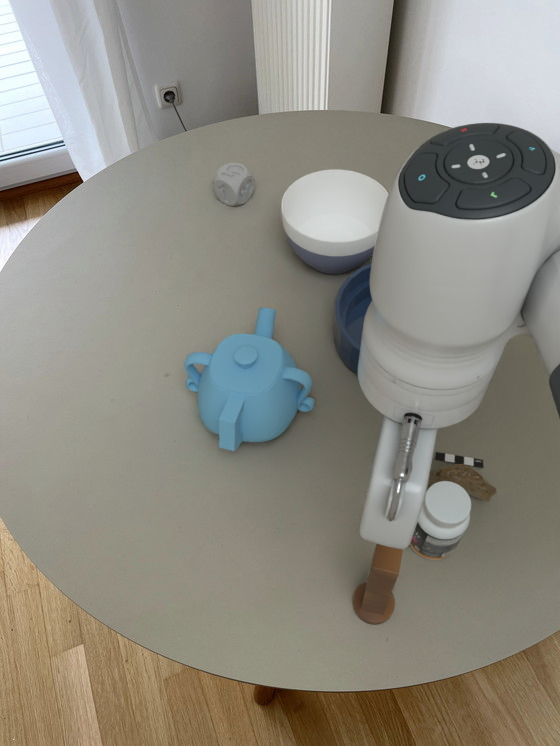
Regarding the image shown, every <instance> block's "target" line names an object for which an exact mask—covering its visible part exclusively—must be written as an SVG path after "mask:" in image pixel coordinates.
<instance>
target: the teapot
mask: <svg viewBox="0 0 560 746" xmlns="http://www.w3.org/2000/svg"><path fill="white" fill-rule="evenodd" d="M276 314H277V310H276V309H272V308H269V307H259V308H258V313H257V317H256V323H255V328H254V332H253V333H254V334H253V333H252V334H251V333H234V334H231V335H228V336H226V337H225V338H224V339H223V340H222V341H221V342H219V344H218V345H217V346H216V348H215V349H214V351H213V352H212V353H209V352H206V351H205V352H204V351H194V352H191V353H189V354H188V355H187V356H186V358H185V360H184V363H183V364H184V365H183V366H184V370H185V372H186V374H187V376H188V377H187V378H186V380H185V387H186V388H187V389H188V390H189V391H191V392H194V393H197V409H198V413H199V418H200V420H201V422H202V423H203V425H204V426H205V427H206V428H207V430H209V431H210V432H211V433H214V434H216V435H217V436H218V438H219V439H218V441H219V442H218V443H219V444H218V445H219V446H218V447H219V448H220V449H223V450H228V451H232V452H235V451H236V450H237V449H239V447H240V445H241V444H242V443H243V442H245V443H246V442H247V443H264V442H269V441H271V440H274V439H276V438H278V437H279V436H281V435H282V434H283V433H284V432H285V431H286V430H287V429H288V428H289V426H290V425H291V424H292V422H293V420H294V418H295V417H296V415H297V412H298V411H300V412H303V413H309V412H311V411H312V410H313V409H314V407H315V400H314V398H312V397H310V396H308V395H309V394H310V392H311V389H312V386H313V380H312V377H311V375H309V373H308V372H306V371H304V370H303V369H301V368H298V366H297V365H296V362H295V360H294V358H293V357H292V355H291V354H290V353H289V352H288V350H287V349H286V348H284V346H282V344H280V343H279V342H278V341H276V340H274V339H273V336H274V328H275V320H276V316H277V315H276ZM195 365H202V366H203V365H204V366H203V369H202V372H200V371H199V370H198V369H197V367H196V366H195ZM301 385H302V386H303V388H302V387H301Z"/></svg>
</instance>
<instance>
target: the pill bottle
mask: <svg viewBox="0 0 560 746" xmlns="http://www.w3.org/2000/svg"><path fill="white" fill-rule="evenodd" d="M471 510H472V500H471V498H470V495H469V494H468V493H467V492H466V491H465V490H464V489H463V488H462V487H461V486H460V485H458V484H456V483H453V482H449V481H441V482H437V483H435V484H433V485H432V486H431V487H430V488H429V489H428V490H426V494H425V498H424V502H423V506H422V509H421V512H420V515H419V519H418V522H417V525H416V528H415V531H414V534H413V537H412V540H411V542H410V545H409V546H410V547H411V549H412V550H413V552H415V553H416V554H417V555H418V556H419V557H421V558H424V559H426V560H430V561H440V560H444V559H446V558H448V557H450V556H451V555H452V553H454V551H456V548H457V547H458V545H459V543H460V541H461V539H462V538H463V536H464V534H465V532H466V530H467V529H468V528H469V525H470V522H471V521H470V520H471Z"/></svg>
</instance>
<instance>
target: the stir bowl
mask: <svg viewBox="0 0 560 746" xmlns="http://www.w3.org/2000/svg"><path fill="white" fill-rule="evenodd" d="M371 264H372V262H371V263H368V264H365V265H363V266H360V267H359V268H358V269H357V270H356V271H354V272H353V273H351V274H350V275H349V276H348V277H347V278H346V279H345V280H344V282H343V284H342V285H341V286H340V288H339V289H338V292H337V295H336V298H335V301H334V311H333V326H332V327H333V328H332V329H333V342H334V345H335V348H336V350H337V353H338V356H339V358H341V360H342V361H343V362H344V363H345V365H346V366H347V367H348V369H349V370H351V371H352V372H354V373H355V374H356V375H358V362H359V354H360V347H361V339H362V332H363V324H364V319H365V315H366V312H367V309H368V307H369V305H370V303H371V301H372V297H371V293H370V283H369V282H370V271H371Z"/></svg>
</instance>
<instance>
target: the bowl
mask: <svg viewBox="0 0 560 746" xmlns="http://www.w3.org/2000/svg"><path fill="white" fill-rule="evenodd" d="M388 193H389V191H387V190H386V188H385V187H384V186H383V185H382V184H381V183H380V182H378V180H375V179H373V178H372V177H371V176H368V175H366V174H363V173H361V172H358V171H353V170H350V169H349V170H348V169H324V170H323V169H322V170H318V171H314V172H310V173H308V174H306V175H304V176H302V177H301V176H300V178H298V179H297V180H295V181H293V183H291V184H290V186H288V187H287V189H286V190H285V191H284V193H283V196H282V199H281V202H280V203H281V205H280V211H281V212H280V213H281V218H282V219H281V221H282V226H283V229H284V233H285V237H286V240H287V242H288V245H290V248H291V249H292V250H293V251H294V253H295V254H296V255H297V256H298V257H299V259H300V260H301V261H302V262H304V263H305V264H307V265H308V266H310V267H312V268H313V269H315V270H316V271H319V272H321V273H325V274H331V275H338V274H344V273H348V272H350V271H352V270H354V269H356V268H358V267H361V266H362V265H364V264H365V263H367V262H368V261H369V260H370V259H371V258H372V257H373V252H374V247H375V242H376V237H377V232H378V228H379V224H380V220H381V216H382V212H383V209H384V205H385V202H386V199H387V196H388Z"/></svg>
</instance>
